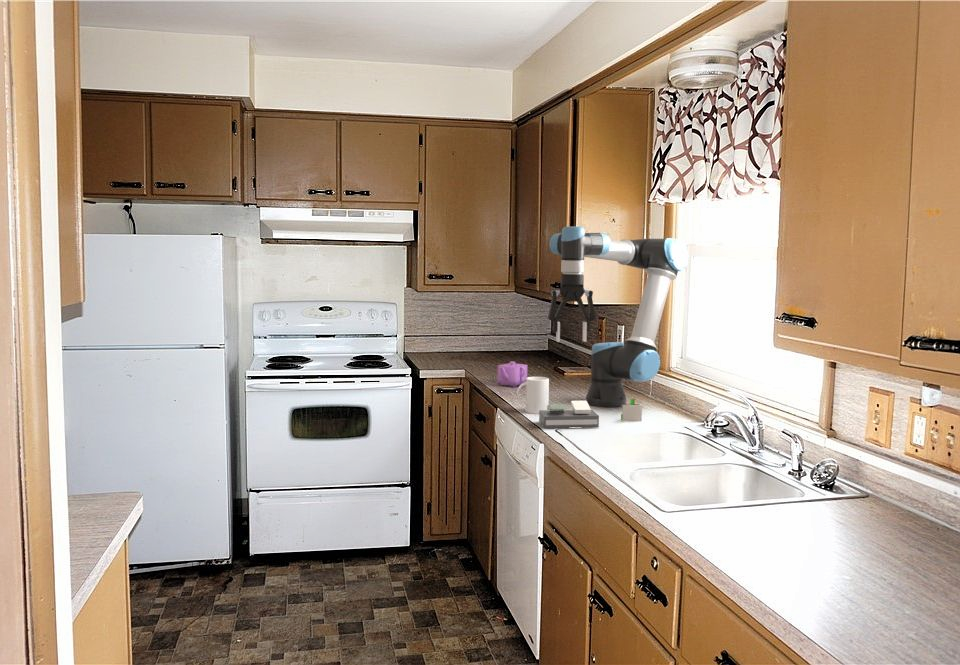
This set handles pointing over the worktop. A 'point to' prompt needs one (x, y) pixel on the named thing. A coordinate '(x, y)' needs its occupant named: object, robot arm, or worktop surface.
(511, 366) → the teapot
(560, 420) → the switch panel
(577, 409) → the rocker cream
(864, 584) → the worktop surface
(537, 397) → the mug
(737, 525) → the worktop surface
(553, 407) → the rocker green
